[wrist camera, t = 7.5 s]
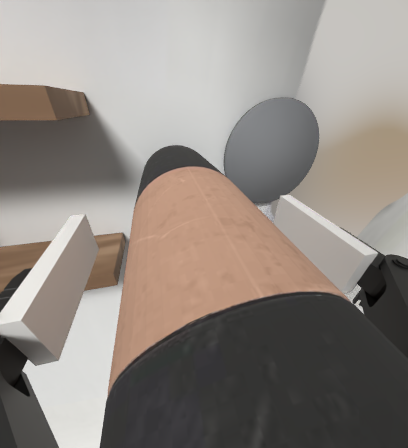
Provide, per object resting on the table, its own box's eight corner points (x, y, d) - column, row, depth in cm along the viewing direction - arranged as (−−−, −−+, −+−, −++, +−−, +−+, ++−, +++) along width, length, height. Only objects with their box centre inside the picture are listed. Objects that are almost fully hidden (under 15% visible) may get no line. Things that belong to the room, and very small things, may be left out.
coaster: (228, 96, 17) (231, 96, 16) (328, 99, 19) (334, 98, 18) (220, 204, 23) (222, 207, 22) (297, 196, 25) (301, 199, 24)
